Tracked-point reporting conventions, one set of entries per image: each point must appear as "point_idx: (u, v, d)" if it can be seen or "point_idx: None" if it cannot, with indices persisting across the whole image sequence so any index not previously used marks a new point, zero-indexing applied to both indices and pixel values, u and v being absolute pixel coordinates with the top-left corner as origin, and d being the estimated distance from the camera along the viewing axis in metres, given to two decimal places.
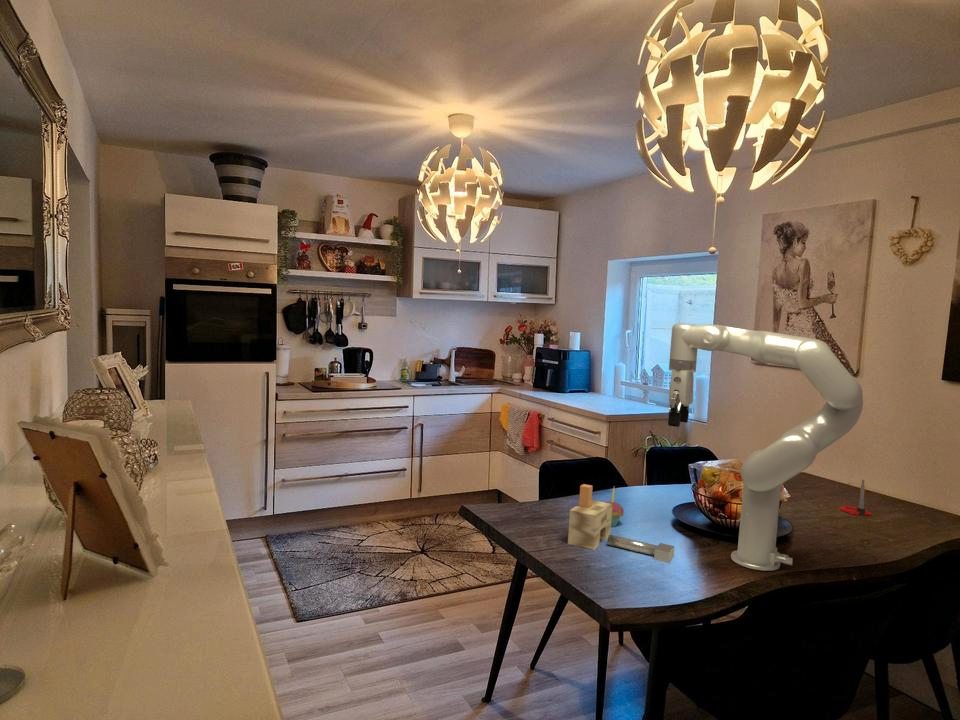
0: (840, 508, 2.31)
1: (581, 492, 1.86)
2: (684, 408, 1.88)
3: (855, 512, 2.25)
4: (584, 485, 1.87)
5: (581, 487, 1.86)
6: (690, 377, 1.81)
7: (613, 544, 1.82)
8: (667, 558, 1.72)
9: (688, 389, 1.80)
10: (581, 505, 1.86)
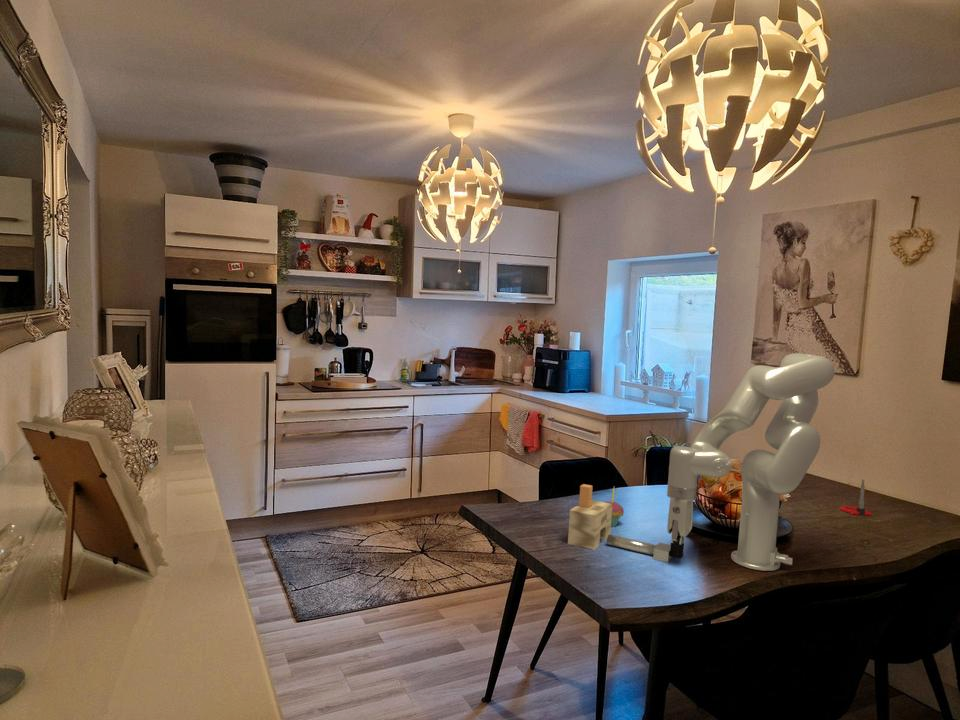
0: (840, 508, 2.31)
1: (581, 492, 1.86)
2: None
3: (855, 512, 2.25)
4: (584, 485, 1.87)
5: (581, 487, 1.86)
6: (690, 505, 1.70)
7: (612, 544, 1.82)
8: (666, 558, 1.72)
9: (688, 519, 1.69)
10: (581, 505, 1.86)
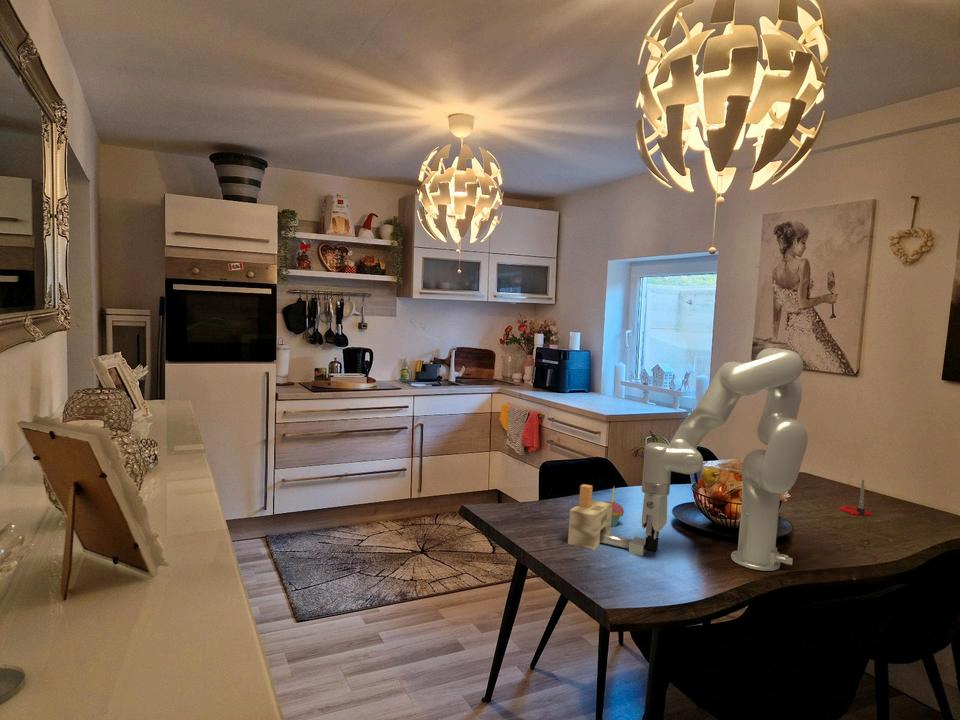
0: (840, 508, 2.31)
1: (581, 492, 1.86)
2: None
3: (855, 512, 2.25)
4: (584, 485, 1.87)
5: (581, 487, 1.86)
6: (663, 500, 1.74)
7: None
8: (641, 551, 1.76)
9: (661, 513, 1.73)
10: (581, 505, 1.86)
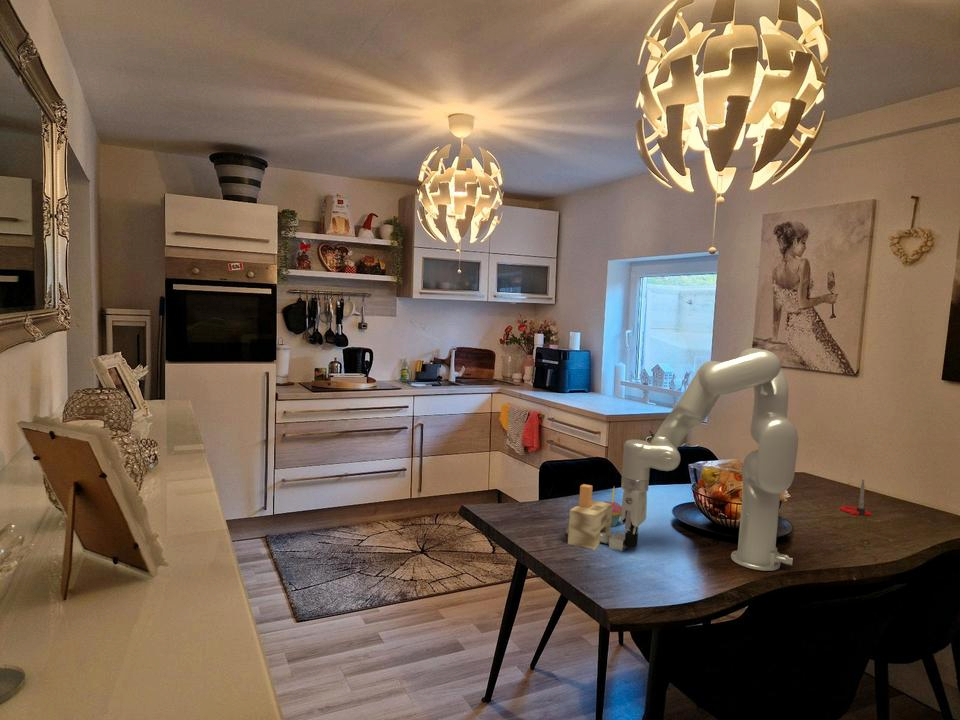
0: (840, 508, 2.31)
1: (581, 492, 1.86)
2: None
3: (855, 512, 2.25)
4: (584, 485, 1.87)
5: (581, 487, 1.86)
6: (642, 496, 1.77)
7: None
8: (621, 546, 1.79)
9: (640, 509, 1.76)
10: (581, 505, 1.86)
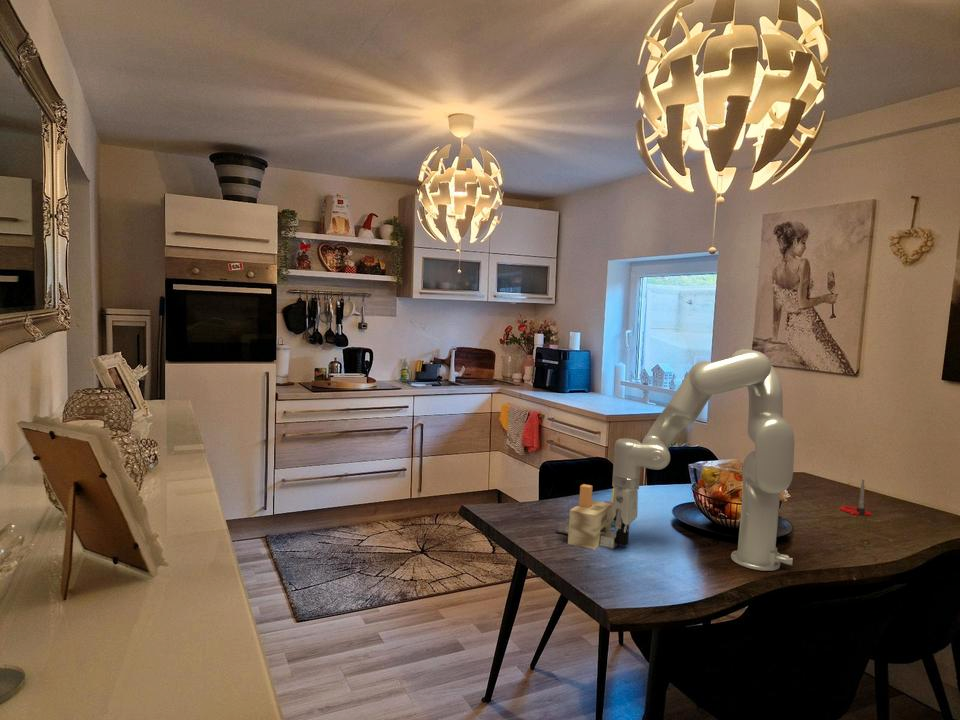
0: (840, 508, 2.31)
1: (581, 492, 1.86)
2: None
3: (855, 512, 2.25)
4: (584, 485, 1.87)
5: (581, 487, 1.86)
6: (633, 495, 1.78)
7: (563, 531, 1.90)
8: (612, 544, 1.81)
9: (631, 507, 1.77)
10: (581, 505, 1.86)
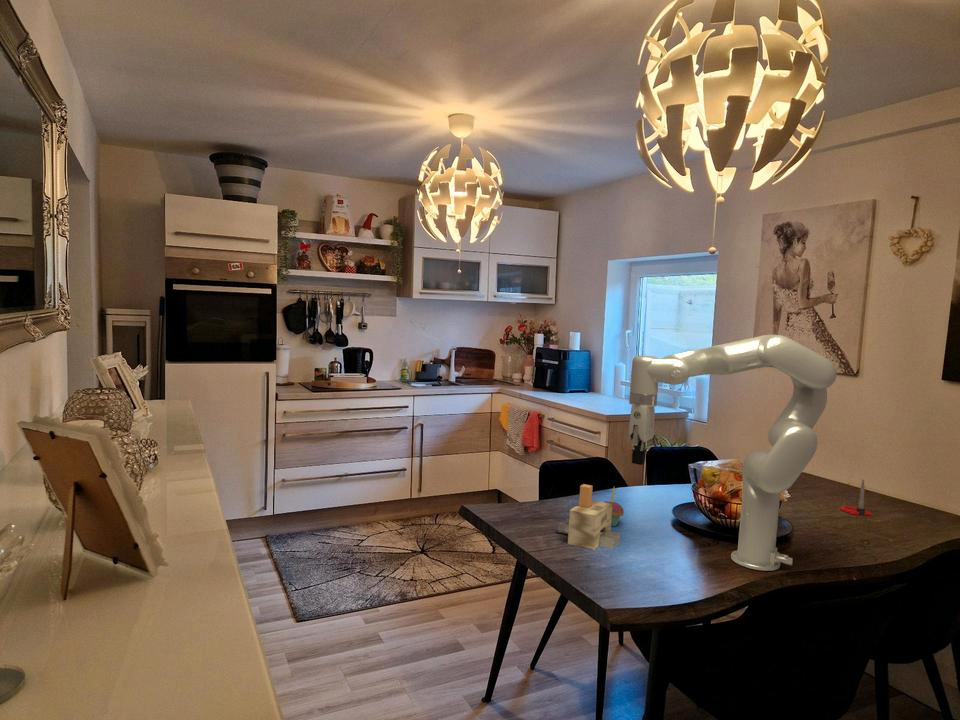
0: (840, 508, 2.31)
1: (581, 492, 1.86)
2: None
3: (855, 512, 2.25)
4: (584, 485, 1.87)
5: (581, 487, 1.86)
6: (650, 411, 1.75)
7: (562, 532, 1.90)
8: (612, 544, 1.81)
9: (648, 424, 1.74)
10: (581, 505, 1.86)
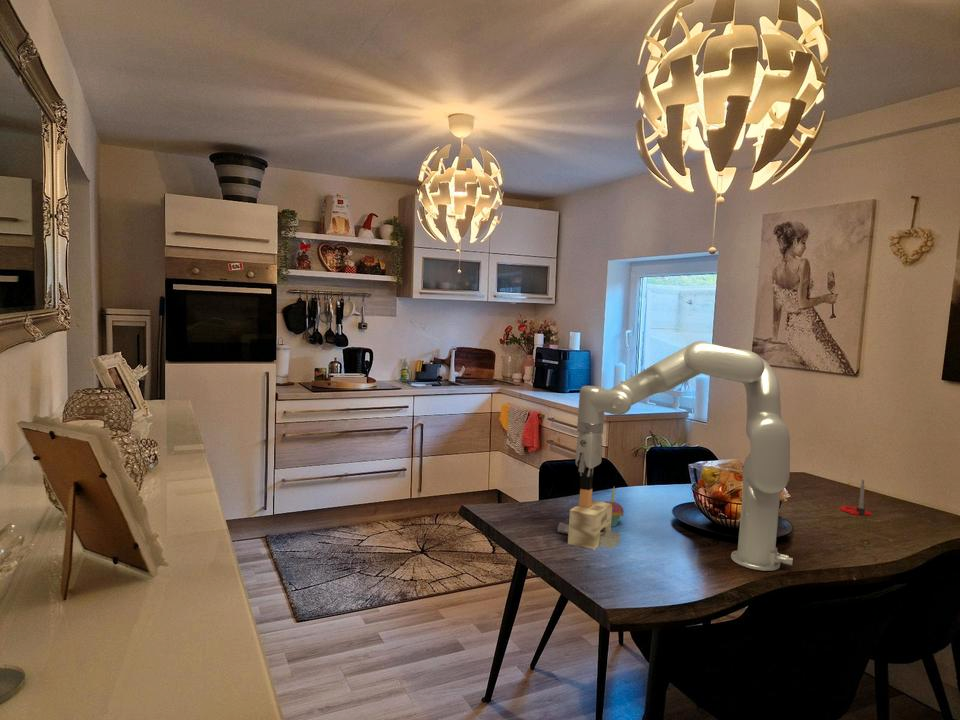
0: (840, 508, 2.31)
1: (580, 495, 1.86)
2: None
3: (855, 512, 2.25)
4: None
5: (581, 490, 1.86)
6: (596, 439, 1.83)
7: (562, 532, 1.90)
8: (612, 544, 1.81)
9: (594, 452, 1.82)
10: None
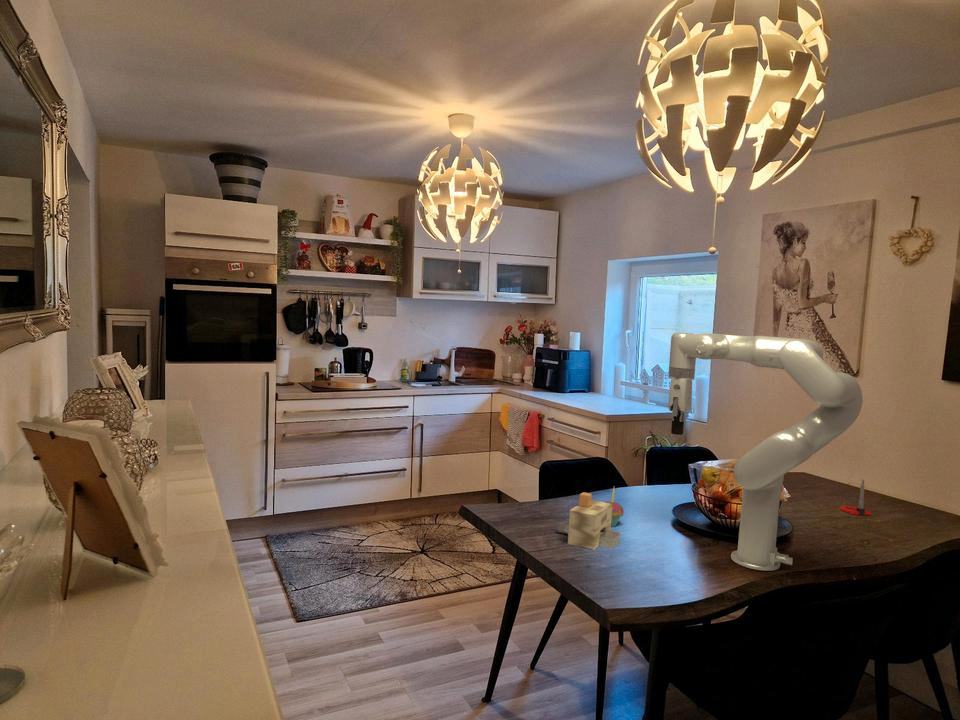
0: (840, 508, 2.31)
1: (580, 501, 1.86)
2: None
3: (855, 512, 2.25)
4: (583, 493, 1.87)
5: (580, 495, 1.86)
6: (689, 384, 1.87)
7: (562, 532, 1.90)
8: (612, 544, 1.81)
9: (687, 396, 1.86)
10: None
